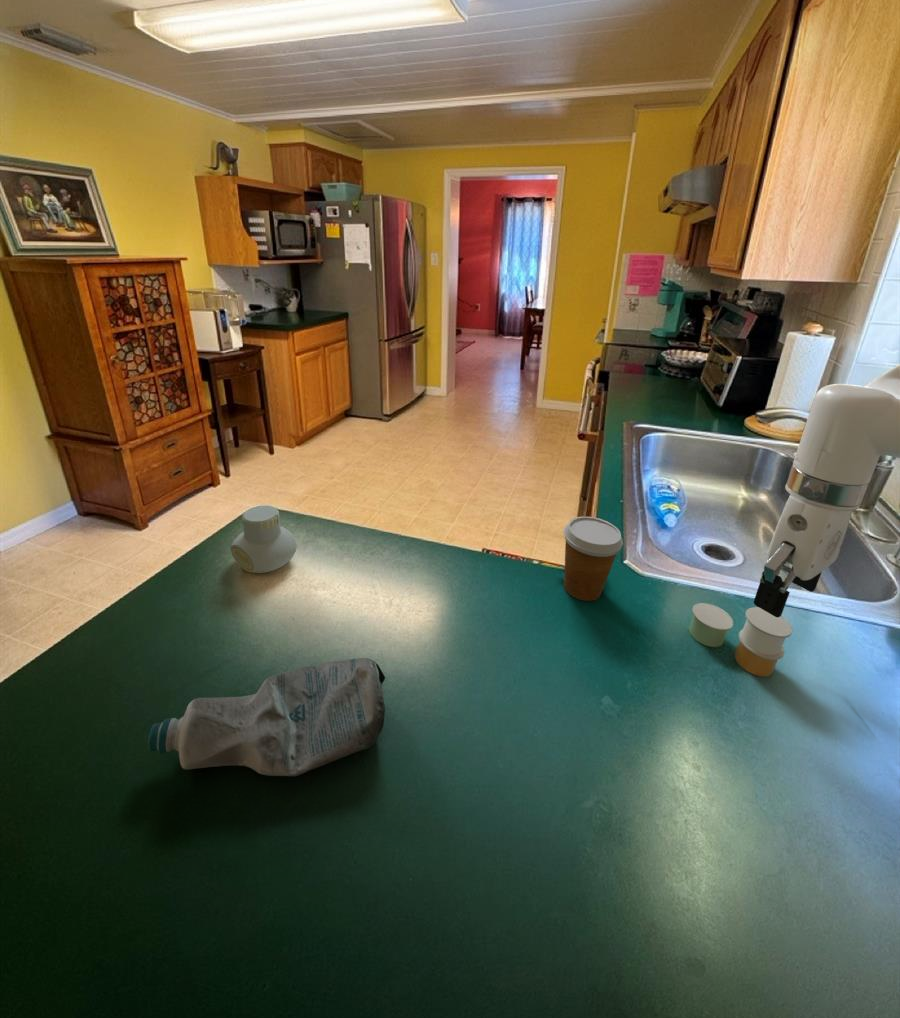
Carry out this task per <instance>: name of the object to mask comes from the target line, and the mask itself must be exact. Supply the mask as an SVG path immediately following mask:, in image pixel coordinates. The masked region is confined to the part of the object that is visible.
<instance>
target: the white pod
mask: <svg viewBox="0 0 900 1018" xmlns="http://www.w3.org/2000/svg"><path fill="white" fill-rule="evenodd" d="M744 616H745V619H746V621H745V623H744V626H743V629H742V630H743V631H742V634H741V636H742V639H743V641H744V642H745V643H746V644H747V645H748V646H749V647H750V648H752V649H753V650H755V651H757V652H759V653H762V654H765V655H771V656H773V655H777V654H779V652H780V650H781V648H782V647H783V645H784V644H785V641H786V639H787V638H789V637H790V636H791V635H792V634H793V626H792V625H791V624H790V622H789V621H788V620H787V619H786V618H784V616H782V615H781V616H780V617H778V618H777V617H775V616H773V615H771V614H770V613H768V612H766V611H764V610H763V609H761V608H759V607H757V606H754V607H753V606H752V607H750V608H748V609H746V611H745V614H744Z"/></svg>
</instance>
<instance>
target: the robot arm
mask: <svg viewBox="0 0 900 1018" xmlns="http://www.w3.org/2000/svg"><path fill="white" fill-rule="evenodd" d="M882 456H887V457H893V458H897V459H900V363H897V365H895V366H893V367H891V368H890V369H888V370H886V371H885V372H883V373H881V374H880V375H878V376H877V377H876V378H874V379H872V380H871V381H870V382H869V383H867V384H866V385H865V386H864V385H856V384H849V383H848V384H847V383H833V384H827V385H825V386H823V387H821V388H820V389H819V390H818V391H817V392H816V394H815V396H814V399H813V401H812V404H811V407H810V410H809V412H808V416H807V419H806V422H805V425H804V427H803V431H802V435H801V437H800V441H799V444H798V447H797V450H796V453H795V455H794V459H793V462H792V466H791V468H790V471H789V474H788V477H787V480H786V484H785V486H784V489H785V490H786V492H787V493H788V494H790V495H789V497H788V499H787V501H786V503H785V505H784V507H783V510H782V513H781V515H780V516H779V519H778V522H777V524H776V527H775V529H774V532H773V535H772V538H771V540H770V542H769V543H770V544H769V546H768V550H767V553H766V560H767V561H766V563H765V564H764V566H763V571H762V573H761V577H760V579H759V584H758V588H757V590H756V593H755V595H754V599H753V605H754V606H755V607H759V608H761V609H763V610H764V611H766V612H768V613H770V614H771V615H773V616H775V617H777V618H778V617H780V616H782V614H783V612H784V610H785V606H786V604H787V602H788V598H789V596H790V593H791V592H790V591H788V589H789V587H790V586H791V585H792V584H794V585H796V586H798V587H800V588H802V589H804V590H806V591H808V592H811V593H812V592H815V590H816V588H817V586H818V583H819V581H820V578H821V575H822V573H823V572H824V571H825V570H826V569H827V568H829V567H830V566H832V564H834V563H835V562H836V561H837V559H838V557H839V554H840V551H841V548H842V546H843V543H844V539H845V536H846V533H847V530H848V527H849V523H850V521H851V517H852V514H853V511H856V510H858V509H860V507H861V504H862V502H863V499H864V496H865V495H866V493H867V492H866V491H867V489H868V486H869V485H870V482H871V480H872V477H873V475H874V472H875V470H876V467H877V464H878V463H879V459H880V457H882ZM785 564H789V565H791V567H789V566H788V565H785ZM781 572H783V573H786V576H785V578H784V580H783V578H782V576H780V574H781Z"/></svg>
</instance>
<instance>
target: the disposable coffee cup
mask: <svg viewBox="0 0 900 1018" xmlns="http://www.w3.org/2000/svg"><path fill="white" fill-rule="evenodd" d="M563 535H564V540H565V549H564V552H565V553H564V576H563V577H564V578H563V588H564V590H565V591H566V593H568V594H569V595H570V596H571V597H573V598H575V599H577V600H580V601H586V602H591V601H596V600H598V599H599V598H600V597H601V595H602V592H603V590H604V587H605V585H606V583H607V579H608V577H609V575H610V572H611V569H612V567H613V564H614V561H615V560H616V557H617V554H618V553H619V551H621V550H622V548H623V545H624V541H623V538H622V533H621V531H620V530H619V528H618V527H617V526H615V525H614V524H613V523H611V522H609V521H607V520H605V519H602V518H599V517H595V516H576V517H574V518H572V519H570V520H569V521H568V523H567V524H566V526H565V527H564V529H563Z"/></svg>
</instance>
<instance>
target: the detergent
mask: <svg viewBox="0 0 900 1018" xmlns="http://www.w3.org/2000/svg"><path fill="white" fill-rule="evenodd" d="M385 679H386V676H385V674H384V672H383V671H382V669H381V667H380V666H379V664H378V663H377V662H376V661H375V660H373V659H371V658H368V657H357V658H355V657H354V658H351V659H350V658H349V659H344V660H343V659H342V660H337V661H334V660H333V661H327V662H321V663H317V664H313V665H308V666H301V667H298V668H297V667H296V668H292V669H288V670H286V671H285V670H284V671H283V672H280V673H276V674H274V675H271V676H269V677H267V678H266V679H264V681H263V682H262V683H261V686H260V688H259V689H258V691H257V692H256V693H253V694H248V695H243V696H224V697H223V696H222V697H221V696H219V697H196V698H194V699H192V700H191V701H190V702H189V703H188V705H187V707H186V710H185V712H184V714H183V716H181V717H180V718H179V719H178V718H176V717H170V718H165V719H164V720H163V722H162V721H161V722H155V723H153V724H152V726H151V727H150V731H149V734H148V741H147V745H148V746H147V747H148V751H150V752H157V753H160V754H167V753H170V752H171V751H174V750H176V751H177V752H178V759H179V764H180V767H181V768H182V769H183V770H195V769H204V768H205V769H207V768H214V767H215V768H216V767H224V766H226V767H229V766H240V767H243V766H244V767H247V768H250V769H252V770H253V771H255V773H258V774H260V775H263V776H267V777H297V776H300V775H302V774H305V773H307V772H311V771H312V770H315V769H317V768H319V767H322V766H325V765H327V764H328V765H329V764H330V763H332V762H335V761H337V760H340V759H342V758H345V757H348V756H350V755H352V754H356V753H358V752H361V751H364V750H367V749H369V748H371V747H372V746H373V745H374V744H375V743H376V742H377V741H378V738H379V736H380V734H381V732H382V730H383V728H384V725H385V712H386V709H385V708H386V706H385V699H384V694H383V693H384V692H383V683H384V681H385Z"/></svg>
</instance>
